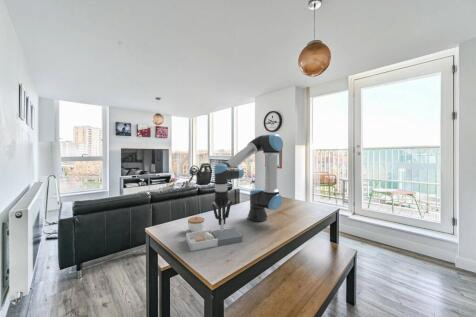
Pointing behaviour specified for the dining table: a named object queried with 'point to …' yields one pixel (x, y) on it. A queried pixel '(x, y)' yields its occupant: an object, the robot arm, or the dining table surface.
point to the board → (227, 236)
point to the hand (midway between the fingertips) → (222, 229)
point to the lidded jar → (196, 224)
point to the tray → (202, 244)
